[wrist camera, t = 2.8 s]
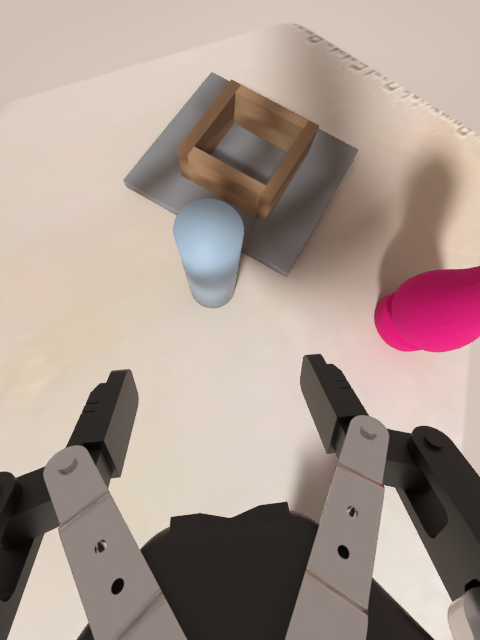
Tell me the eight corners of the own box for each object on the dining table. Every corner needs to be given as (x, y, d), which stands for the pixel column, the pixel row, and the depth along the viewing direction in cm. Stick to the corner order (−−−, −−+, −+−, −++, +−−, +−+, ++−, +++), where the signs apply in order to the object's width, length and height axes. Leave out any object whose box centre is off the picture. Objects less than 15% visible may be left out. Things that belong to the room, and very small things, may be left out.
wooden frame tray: (126, 186, 30) (110, 153, 26) (211, 80, 34) (210, 36, 30) (286, 276, 29) (298, 257, 25) (354, 156, 33) (375, 122, 29)
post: (182, 294, 28) (159, 239, 17) (205, 259, 29) (197, 187, 18) (220, 316, 28) (221, 274, 17) (242, 280, 29) (256, 219, 18)
